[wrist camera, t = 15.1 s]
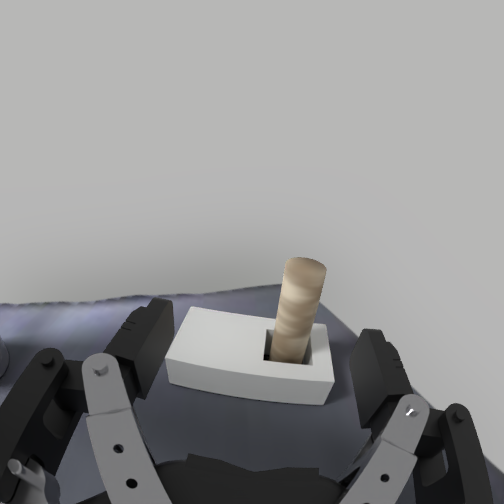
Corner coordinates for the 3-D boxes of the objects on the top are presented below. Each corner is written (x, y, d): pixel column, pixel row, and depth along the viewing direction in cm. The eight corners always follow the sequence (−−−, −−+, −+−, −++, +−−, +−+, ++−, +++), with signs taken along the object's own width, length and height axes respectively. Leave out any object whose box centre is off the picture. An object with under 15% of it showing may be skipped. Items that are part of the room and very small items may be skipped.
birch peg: (265, 382, 30) (285, 273, 24) (267, 359, 34) (285, 255, 28) (298, 385, 30) (329, 278, 24) (297, 362, 34) (323, 260, 28)
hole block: (169, 382, 28) (165, 357, 26) (192, 331, 37) (191, 306, 36) (323, 405, 27) (334, 381, 25) (317, 348, 36) (325, 324, 34)
